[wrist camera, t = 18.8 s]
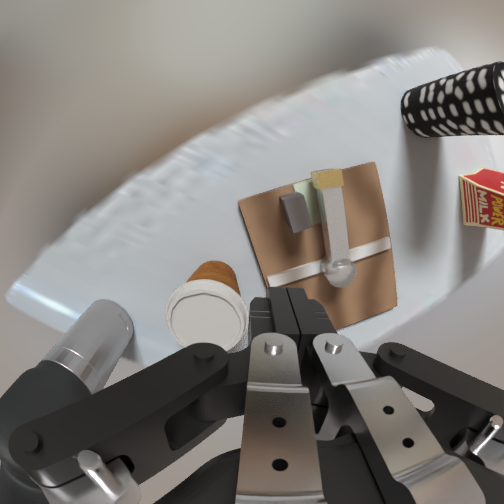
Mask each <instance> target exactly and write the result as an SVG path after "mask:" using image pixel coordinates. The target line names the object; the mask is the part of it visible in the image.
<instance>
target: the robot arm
mask: <svg viewBox="0 0 504 504" xmlns="http://www.w3.org/2000/svg"><path fill="white" fill-rule="evenodd" d="M132 336H133V324H132V321H131V319H130V317H129V315H128V314H127V313H126V312H125V310H124V309H123V308H121V307H120V306H119V305H117V304H116V303H114V302H111V301H108V300H99V301H96V302H94V303H93V304H92V305H91V306H90V307H89V308H88V309H87V310H86V311H85V312H84V313H83V314H82V315H81V316H80V317H79V319H78V320H77V321H76V322H75V323H74V324H73V325H72V326H71V327H70V328H69V329H68V330H67V332H66V333H65V334H64V335H63V336H62V337H61V338H60V339H59V341H58V342H57V343H56V344H55V345H54V346H53V347H52V349H51V350H50V351H49V352H48V353H47V354H46V356H45V357H44V358H43V359H42V360H41V362H40V363H39V364H38V365H37V366H36V367H35V368H32V369H29V370H27V371H25V372H24V373H23V374H22V375H21V376H20V377H19V378H18V379H17V380H16V381H15V382H14V383H13V384H12V385H11V387H10V388H9V389H8V390H7V391H6V392H5V393H4V395H3V396H2V397H1V398H0V460H1V466H0V504H139V502H140V500H141V490H140V487H139V484H141V483H143V482H144V481H146V480H147V479H149V478H150V477H152V476H154V475H155V474H157V473H158V472H160V471H161V470H163V469H164V468H166V467H167V466H169V465H170V464H172V463H173V462H175V461H176V460H177V459H179V458H180V457H181V456H183V455H184V454H186V453H187V452H189V451H190V450H191V449H193V448H194V447H195V446H197V445H198V444H199V443H201V442H202V441H203V440H205V439H206V438H207V437H208V436H209V435H211V434H212V433H213V432H214V431H216V430H217V429H218V428H219V427H221V426H222V425H223V424H224V423H225V422H226V420H227V418H231V417H236V416H241V415H244V424H243V434H242V444H241V448H239V449H235V450H232V451H228V452H226V453H223V454H221V455H219V456H217V457H215V458H213V459H211V460H210V461H208V462H207V463H205V464H204V465H203V466H201V467H200V468H199V469H198V470H196V471H195V472H194V473H193V474H191V475H190V476H189V477H188V478H187V479H185V480H184V481H183V482H182V483H180V484H179V485H178V486H176V487H175V488H174V489H172V490H171V491H170V492H168V493H167V494H166V495H164V496H163V497H162V498H161V499H159V500H158V501H156V502H155V503H153V504H504V390H502V389H499V388H497V387H495V386H493V385H491V384H488V383H485V382H484V381H481V380H479V379H477V378H475V377H472V376H470V375H468V374H466V373H463V372H461V371H459V370H457V369H454V368H452V367H450V366H448V365H446V364H444V363H441V362H439V361H437V360H435V359H433V358H431V357H428V356H426V355H424V354H422V353H420V352H418V351H415V350H413V349H411V348H409V347H407V346H405V345H402V344H399V343H394V342H389V343H384V344H382V345H381V346H380V347H379V349H378V351H377V354H373V353H367V352H361V351H358V350H357V348H356V347H355V345H354V344H353V343H352V341H351V340H350V339H348V338H347V337H345V336H342V335H339V334H337V332H336V330H335V328H334V326H333V324H332V322H331V320H330V319H329V317H328V315H327V313H326V311H325V309H324V307H323V305H322V304H320V303H319V302H318V301H316V300H315V299H308V297H307V295H306V293H305V290H304V288H294V287H286V288H285V287H269V286H268V287H267V293H266V298H260V297H255V298H254V299H253V300H252V301H251V303H250V311H249V325H248V347H247V348H245V349H244V350H242V351H239V352H236V353H231V354H227V352H226V350H225V349H223V348H222V347H221V346H218V345H216V344H213V343H206V342H201V343H194V344H191V345H189V346H187V347H185V348H183V349H181V350H179V351H178V352H176V353H174V354H172V355H170V356H168V357H166V358H164V359H162V360H161V361H159V362H157V363H155V364H153V365H151V366H149V367H147V368H145V369H143V370H141V371H139V372H137V373H135V374H133V375H131V376H129V377H127V378H125V379H123V380H121V381H119V382H117V383H115V384H113V385H111V386H109V387H107V388H105V389H103V387H104V385H105V384H106V382H107V380H108V378H109V376H110V374H111V372H112V371H113V369H114V367H115V366H116V364H117V362H118V360H119V358H120V357H121V355H122V353H123V352H124V350H125V348H126V346H127V345H128V343H129V341H130V339H131V338H132ZM402 387H405V388H408V389H409V390H411V391H413V392H415V393H417V394H419V395H421V396H423V397H425V398H427V399H430V400H431V401H432V402H433V403H434V405H435V406H434V408H433V409H432V410H430V411H428V412H423V411H421V410H419V409H417V408H415V407H414V406H413V404H412V403H411V402H410V400H409V399H408V397H407V396H406V395H405V393H404V392H403V390H402ZM102 389H103V390H102Z"/></svg>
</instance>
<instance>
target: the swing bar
mask: <svg viewBox="0 0 504 504" xmlns="http://www.w3.org/2000/svg"><path fill="white" fill-rule="evenodd" d="M311 177H312V183H313V187H314V188H316V191H317V197H318V203H319V209H320V216H321V223H322V230H323V237H324V245H325V253H326V255H325V256H324V257H323V258H322V261H321V270H322V272H323V273H324V275H325V276H326V278H327V279H328V281H329V282H330V284H331V285H333V286H335V287H339V288H340V287H345V286H347V285H349V284H350V283H351V282H352V281H353V280H354V278H355V276H356V266H355V264H354V263H353V262H352V261H351V260H350V256H349V245H348V235H347V226H346V218H345V210H344V202H343V195H342V188H341V186H344V182H343V176H342V170H341V169H333V168H332V169H326V170H319V171H313V172H311Z"/></svg>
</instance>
